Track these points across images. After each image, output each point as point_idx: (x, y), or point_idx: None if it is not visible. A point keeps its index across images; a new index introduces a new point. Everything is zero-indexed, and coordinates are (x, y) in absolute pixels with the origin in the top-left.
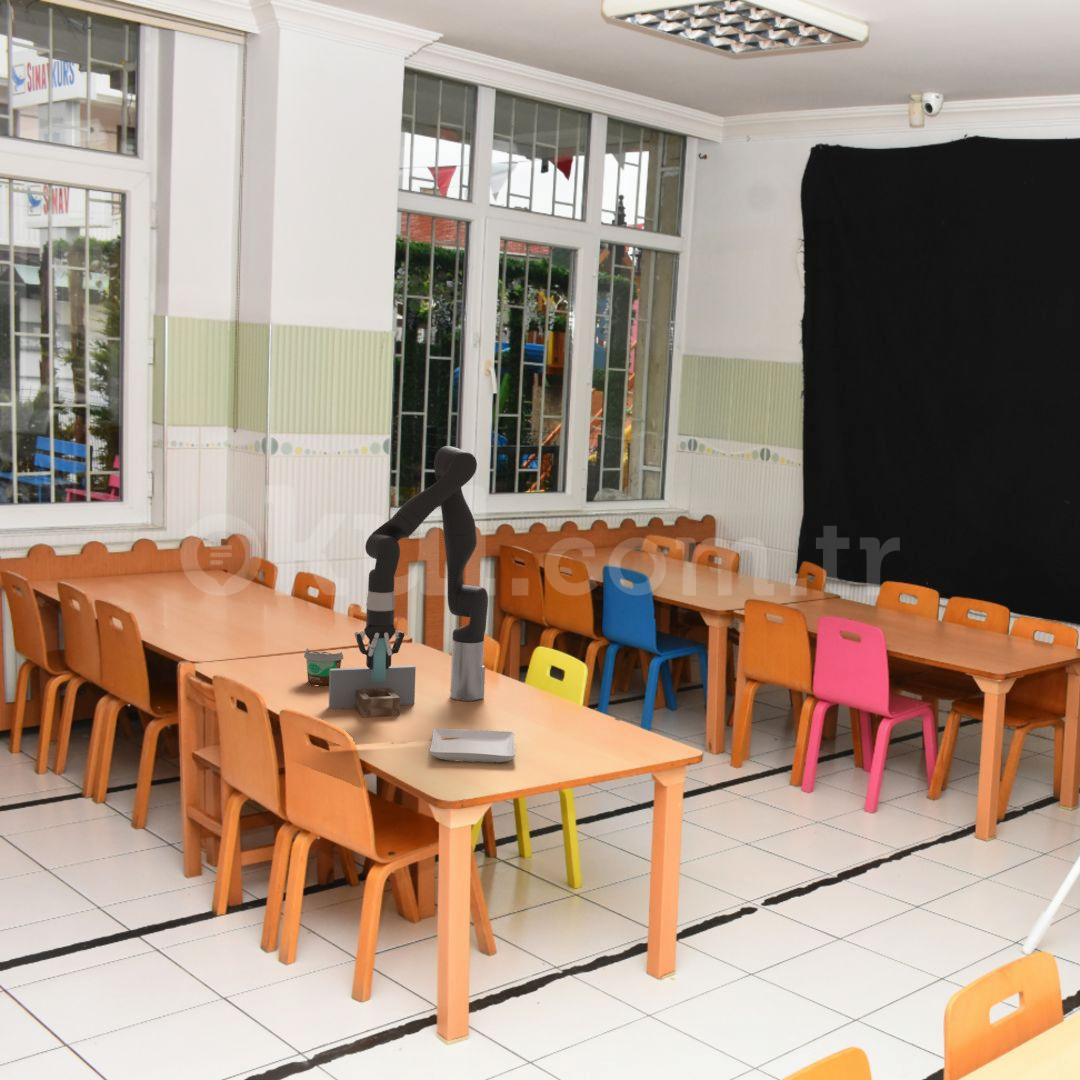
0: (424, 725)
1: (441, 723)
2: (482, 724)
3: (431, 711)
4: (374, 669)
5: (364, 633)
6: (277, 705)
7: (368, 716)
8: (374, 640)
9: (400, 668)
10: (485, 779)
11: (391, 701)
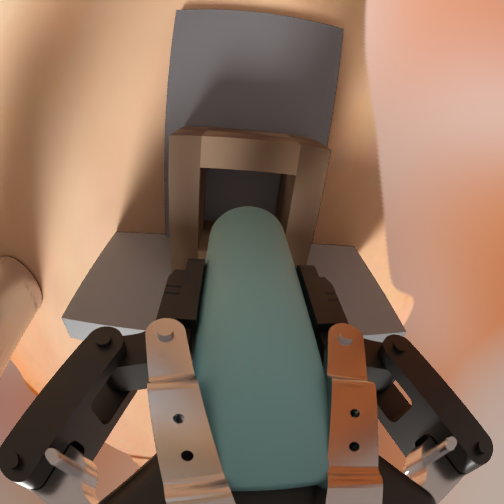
0: (129, 52)
1: (78, 70)
2: (4, 66)
3: (77, 194)
4: (289, 255)
5: (432, 491)
6: (408, 315)
7: (294, 135)
8: (360, 451)
9: (118, 323)
10: None
11: (208, 134)
